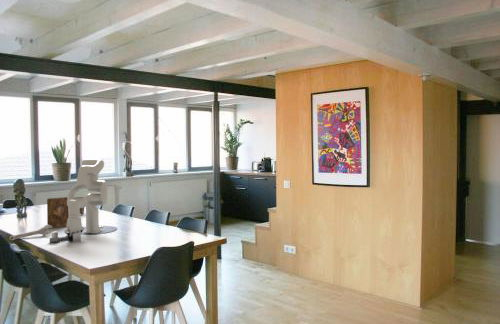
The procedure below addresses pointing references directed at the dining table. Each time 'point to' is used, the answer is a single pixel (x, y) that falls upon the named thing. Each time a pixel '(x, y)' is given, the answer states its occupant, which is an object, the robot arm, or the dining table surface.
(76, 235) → the cube with metal dome
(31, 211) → the dining table surface
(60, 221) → the book
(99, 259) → the dining table surface
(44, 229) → the wrench
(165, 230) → the dining table surface
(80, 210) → the plant pot
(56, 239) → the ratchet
